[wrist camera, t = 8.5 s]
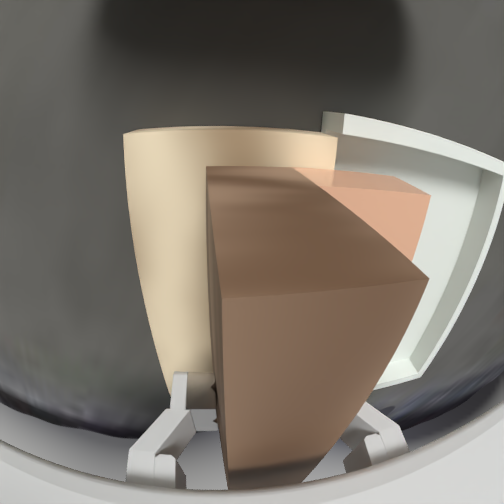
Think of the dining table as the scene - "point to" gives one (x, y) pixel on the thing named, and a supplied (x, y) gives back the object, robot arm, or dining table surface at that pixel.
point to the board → (193, 220)
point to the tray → (429, 220)
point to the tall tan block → (295, 318)
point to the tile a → (378, 203)
